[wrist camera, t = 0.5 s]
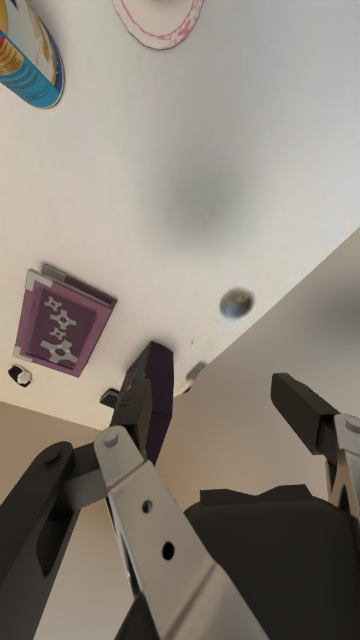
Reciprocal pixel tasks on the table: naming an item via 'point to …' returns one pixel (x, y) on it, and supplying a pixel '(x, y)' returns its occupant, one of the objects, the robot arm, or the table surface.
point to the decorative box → (153, 393)
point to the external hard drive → (110, 398)
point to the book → (60, 321)
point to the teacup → (159, 20)
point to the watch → (20, 376)
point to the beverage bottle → (28, 55)
